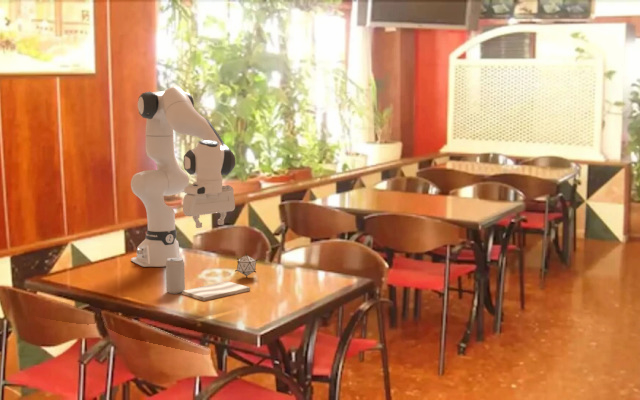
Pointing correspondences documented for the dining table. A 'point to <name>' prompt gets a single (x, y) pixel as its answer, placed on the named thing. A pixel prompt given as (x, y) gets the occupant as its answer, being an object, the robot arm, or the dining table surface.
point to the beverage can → (175, 275)
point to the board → (215, 290)
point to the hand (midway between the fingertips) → (209, 226)
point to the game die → (246, 265)
